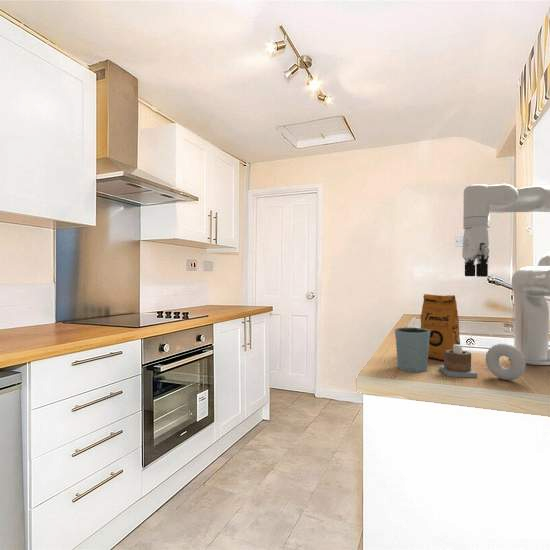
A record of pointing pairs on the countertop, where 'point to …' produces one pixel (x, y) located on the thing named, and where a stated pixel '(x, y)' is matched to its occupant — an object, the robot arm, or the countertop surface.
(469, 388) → the countertop surface
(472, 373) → the peg stand
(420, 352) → the blue grey cup
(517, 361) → the donut
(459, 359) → the ring
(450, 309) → the coffee package
